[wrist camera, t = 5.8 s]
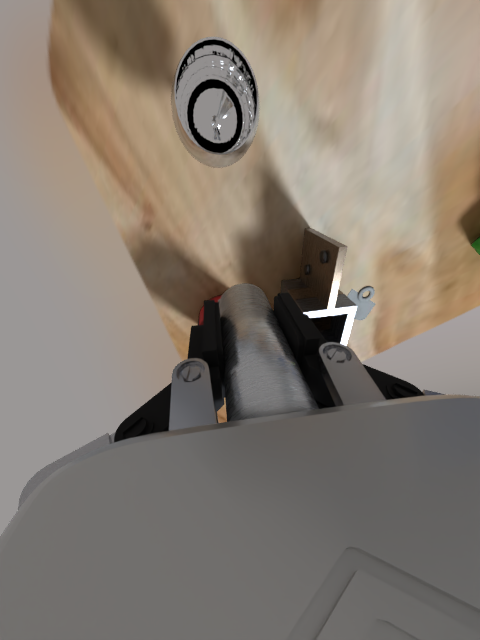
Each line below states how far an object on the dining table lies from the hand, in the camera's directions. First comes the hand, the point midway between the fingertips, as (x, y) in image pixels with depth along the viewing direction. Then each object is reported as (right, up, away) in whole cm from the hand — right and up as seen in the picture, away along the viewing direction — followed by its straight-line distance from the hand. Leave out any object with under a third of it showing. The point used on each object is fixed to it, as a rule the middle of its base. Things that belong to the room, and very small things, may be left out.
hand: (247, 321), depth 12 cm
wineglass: (-3, +19, +10) cm, 22 cm away
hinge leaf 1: (+9, +7, +20) cm, 23 cm away
